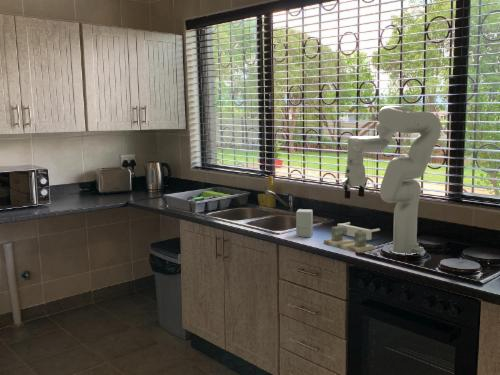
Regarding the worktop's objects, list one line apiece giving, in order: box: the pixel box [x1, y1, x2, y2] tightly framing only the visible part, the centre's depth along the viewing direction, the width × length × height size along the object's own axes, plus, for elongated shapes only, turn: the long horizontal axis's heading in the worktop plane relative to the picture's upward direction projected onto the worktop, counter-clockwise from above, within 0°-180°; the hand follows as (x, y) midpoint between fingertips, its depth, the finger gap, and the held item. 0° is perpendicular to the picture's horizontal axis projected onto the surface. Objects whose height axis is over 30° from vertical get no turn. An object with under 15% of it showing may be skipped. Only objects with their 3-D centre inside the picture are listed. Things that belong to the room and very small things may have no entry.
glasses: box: [337, 221, 381, 241], centre depth 246 cm, size 20×9×5 cm, turn 36°
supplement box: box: [295, 208, 314, 238], centre depth 246 cm, size 7×7×13 cm
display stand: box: [323, 226, 375, 254], centre depth 224 cm, size 21×10×8 cm, turn 36°
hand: (354, 197), depth 242 cm, fingers open, 9 cm apart
